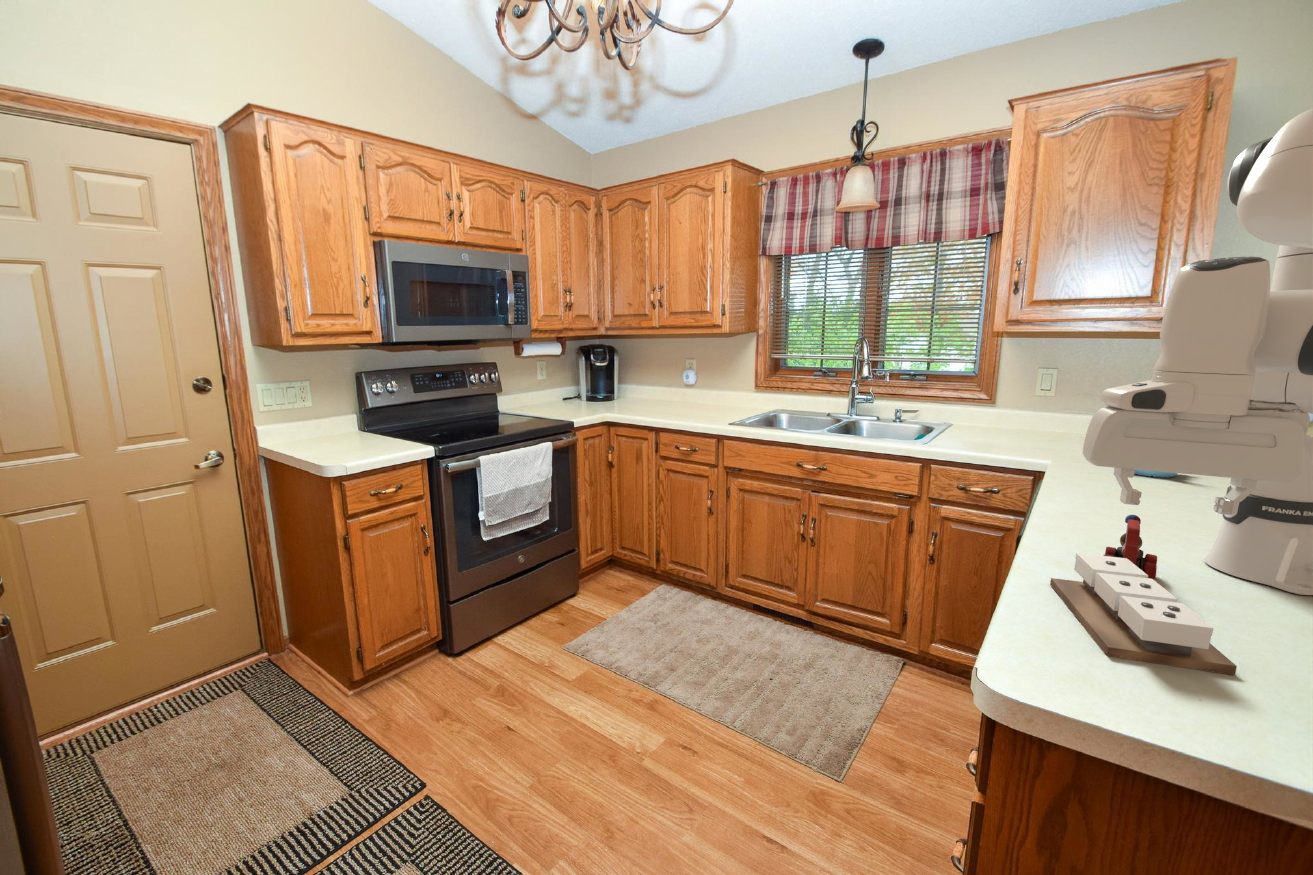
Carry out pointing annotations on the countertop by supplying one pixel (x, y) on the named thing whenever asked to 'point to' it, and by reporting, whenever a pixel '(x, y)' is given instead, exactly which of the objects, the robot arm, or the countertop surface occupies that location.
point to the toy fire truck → (1134, 548)
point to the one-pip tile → (1104, 567)
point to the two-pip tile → (1129, 589)
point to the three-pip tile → (1164, 622)
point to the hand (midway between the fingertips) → (1175, 508)
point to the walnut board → (1120, 635)
